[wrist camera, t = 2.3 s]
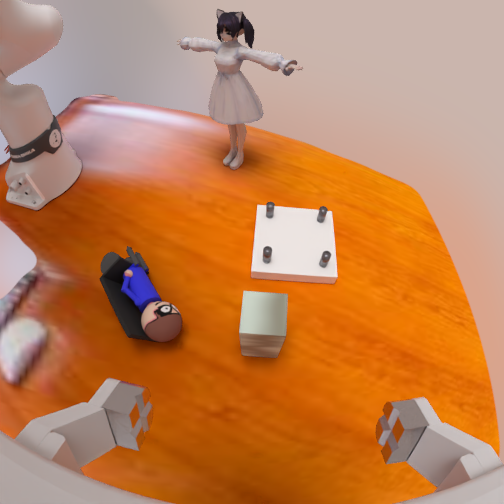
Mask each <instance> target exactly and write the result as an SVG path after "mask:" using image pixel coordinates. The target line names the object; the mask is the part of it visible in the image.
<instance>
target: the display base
mask: <svg viewBox="0 0 504 504" xmlns="http://www.w3.org/2000/svg"><path fill="white" fill-rule="evenodd" d="M251 278H257V279H270V280H283V281H298V282H313V283H328V284H334V283H335V281H336V279H337V264H336V251H335V239H334V228H333V218H332V211H327V208H326V207H324V206H322V207H320V209H319V210H313V209H302V208H290V207H278V206H275V204H274V203H273V202H268V203H267V205H266V206H264V205H258V206H257V217H256V227H255V237H254V248H253V258H252V268H251Z"/></svg>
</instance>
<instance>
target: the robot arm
mask: <svg viewBox="0 0 504 504" xmlns="http://www.w3.org/2000/svg"><path fill="white" fill-rule="evenodd" d="M62 31H63V20H62V17H61V15H60V13H59V12H58V11H57V10H56V9H55V8H54V7H52V6H49V5H33V4H29V3H25V2H23V1H21V0H0V130H1V132H2V133H3V135H4V137H5V138H6V140H7V142H8V144H9V145H8V146H7V147H6V149H7V148H8V150H7V152H6V153H8V152H9V151H10V156H11V162H10V164H9V167H8V170H7V172H6V176H5V179H6V182H7V184H8V186H9V190H8V193H7V196H6V200H7V202H9V203H13V204H16V205H20V206H23V207H26V208H30V209H33V210H39V209H41V208H42V207H43V206H44V205H45V204H47V203H48V202H49V201H50V200H52V199H54V198H56V197H57V196H59V195H61V194H62V193H63V192H65V191H66V190H67V189H68V188H69V187H70V186H71V185H72V184H73V183H74V182H75V181H76V179H77V178H78V176H79V174H80V172H81V169H82V162H81V160H80V159H79V158H78V157H77V156H76V152H75V150H74V149H72V148H71V147H70V145H69V143H68V142H67V140H66V138H65V137H64V135H63V133H62V132H61V128H60V126H59V124H58V120H57V119H56V117H55V116H54V115H52V113H51V110H50V108H49V105H48V102H47V100H46V97H45V95H44V92H43V90H42V89H41V88H40V87H39V86H37V85H34V84H23V85H13V84H11V83H9V82H8V81H7V80H6V78H7V77H8V76H9V75H11V74H13V73H14V72H16V71H17V70H19V69H21V68H23V67H24V66H26V65H28V64H30V63H31V62H33V61H35V60H37V59H38V58H40V57H41V56H42V55H44V54H45V53H47V52H48V51H49V50H51V49H52V48H53V47H55V46H56V45H57V44H58V42H59V40H60V38H61V35H62ZM6 149H5V150H6ZM150 397H151V395H150V390H149V388H147V387H144V386H140V385H136V384H132V383H128V382H124V381H119V380H116V379H112V378H108V379H106V380H105V382H104V383H103V384H102V385H101V387H100V388H99V389H98V391H97V392H96V393H95V394H94V396H93V397H92V398H91V399H90V401H89V402H88V403H86V402H83V403H80V404H77V405H75V406H72V407H69V408H66V409H63V410H60V411H57V412H54V413H51V414H48V415H45V416H42V417H39V418H36V419H33V420H31V421H30V422H29V424H28V425H27V426H26V427H25V428H24V429H23V430H22V431H21V432H20V434H19V435H18V436H17V437H16V438H15V439H13V438H11V437H9V436H8V435H6V434H5V433H3V432H2V431H0V504H174V503H170V502H165V501H161V500H157V499H153V498H149V497H146V496H142V495H138V494H135V493H132V492H129V491H125V490H122V489H119V488H116V487H113V486H110V485H108V484H105V483H102V482H100V481H97V480H94V479H92V478H89V477H87V476H84V474H83V472H82V470H81V469H80V468H81V467H83V466H84V465H86V464H88V463H90V462H91V461H93V460H95V459H96V458H98V457H100V456H101V455H103V454H105V453H106V452H108V451H109V450H111V449H113V448H114V447H116V445H119V446H122V447H126V448H130V449H134V450H138V451H139V450H140V448H141V445H142V443H143V441H144V439H145V436H144V432H145V431H147V430H149V429H150V426H151V424H152V420H153V407H152V405H151V404H150V402H149V399H150ZM383 412H384V415H383V416H382V417H381V418H380V419H379V420H378V423H377V425H376V438H377V441H378V443H379V444H381V445H382V446H383V448H382V450H381V452H382V455H383V458H384V461H385V463H386V464H391V463H397V462H404V461H407V463H408V464H409V465H411V466H412V467H413V468H414V469H415V470H417V471H418V472H419V473H420V474H421V475H423V476H424V477H425V478H426V479H428V480H429V481H430V482H431V483H432V484H434V485H435V486H436V487H437V489H436V490H435V491H434V493H432V494H429V495H426V496H422V497H418V498H415V499H411V500H407V501H403V502H399V503H394V504H504V465H503V464H502V462H501V461H500V459H499V457H498V456H497V454H496V453H495V451H494V450H493V448H492V447H491V446H490V445H489V444H487V443H484V442H482V441H480V440H478V439H476V438H474V437H472V436H470V435H468V434H466V433H464V432H462V431H460V430H458V429H456V428H454V427H453V426H451V425H449V424H447V423H442V422H441V421H440V419H439V418H438V416H437V415H436V413H435V411H434V410H433V408H432V407H431V405H430V404H429V402H428V401H427V399H426V398H424V397H420V398H413V399H407V400H399V401H390V402H387V403H386V404H385V405H384V408H383Z"/></svg>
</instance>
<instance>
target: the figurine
mask: <svg viewBox="0 0 504 504" xmlns="http://www.w3.org/2000/svg"><path fill="white" fill-rule="evenodd" d="M217 18H218V23H217V36H218V39H219V40H220V41H221V43H219V42H215V41H211V40H207V39H203V38H199V37H195V38H193V39H191V38H189V37H184V38H183V39H180V40H178V41H177V42H180V43H179V44H178V45H180V46H181V48H182V49H184V50H189V49H190V48H191V49H192V50H193V51H197V52H201V51H214V52H216V53H217V55H216V56H215V60H214V61H215V64H216V66H217V69H218V73H217V75H216V79H215V81H214V84H213V87H212V91H211V96H210V101H209V110H210V116H211V118H212V119H213V120H215V121H216V122H218V123H222V124H228V128H229V133H230V141H231V150H230V152H229V154H228V155H227V156H226V157H225V158H224V160H223V163H224V165H225V166H228V165H229V166H230V169H233V170H235V169H237V168H239V167H240V165H241V164H242V163H243V158H244V154H243V146H244V141H245V137H246V132H247V131H246V127H245V124H244V123H251V122H254V121H257V120H259V119H260V118H262V116H263V110H262V104H261V102H260V100H259V98H258V96H257V95H256V93H255V91H254V90H253V88H252V86H251V85H250V83H249V82H248V81H247V79H246V78H245V76H244V75H243V74H242V72H241V71H240V66H241V64H242V62H243V60H250V61H253V62H256V63H259V64H261V65H262V66H264V67H265V68H267V69H269V70H272V71H278V70H279V69H281V70H282V72H283V74H284V75H286V76H287V75H288V76H289V75H290V74H291V73H292V72H293V71H294V69H296V70H302V67H300V66H297V62H296V61H295V60H284V58H283V57H282V56H281V55H280V54H276V53H270V52H264V51H258V50H253V49H248V48H247V47H245V46H242V45H241V44H240V43H239V42H238V40H237V38H238V36H239V35H242V34H243V33H244V34H245V42H246V43H248V45H249V47H250V48H252V44H253V41H254V29H253V26H252V24H251V23H250V22H249V20H248V19H246V17H245V16H244V14H243V12H229V13H225V12H224V11H222V10H219V9H218V10H217ZM221 37H222V40H224V41H225V42H222V40H221ZM226 41H228V42H226ZM237 137H238V151H237V146H236V141H237Z"/></svg>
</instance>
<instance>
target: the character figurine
mask: <svg viewBox="0 0 504 504" xmlns="http://www.w3.org/2000/svg"><path fill="white" fill-rule="evenodd" d="M126 251H127V253H128V254H129V256H130V257H128V258H126V259H123V258H121V257H120V256H119V255H118V254H116V253H114V252H110V253H108V254H106V255H105V256H104V258H103V260H102V262H101V271H102V273H103V275H102V276H101V277H100V281H101V283H102V285H103V288H104V290H105V292H106V294H107V296H108V299H109V301H110V303H111V305H112V307H113V309H114V311H115V313H116V315H117V317H118V319H119V321H120V323H121V325H122V327H123V329H124V331H125V333H126V335H127V337H130V338H136V339H142V340H149V341H155V342H166V341H170V340H172V339H173V338H175V337H176V336H177V335H178V334H179V332H180V330H181V327H182V318H181V314H180V312H179V311H178V309H177V308H176V307H175V306H174V305H172V304H170V303H168V302H164V301H162V300H161V298H160V296H159V295H158V293H157V292H156V290H155V288H154V287H153V285H152V283H151V282H150V280H149V278H148V276H147V275H148V274H149V272H148V271H149V269H148V267H147V265H146V264H145V262H144V260H143V258H142V257H141V255H140V253H137V252H136V253H135V254H134V252H133V250H132V248H131V247H128V246H127V250H126ZM141 267H142V268H141Z"/></svg>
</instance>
